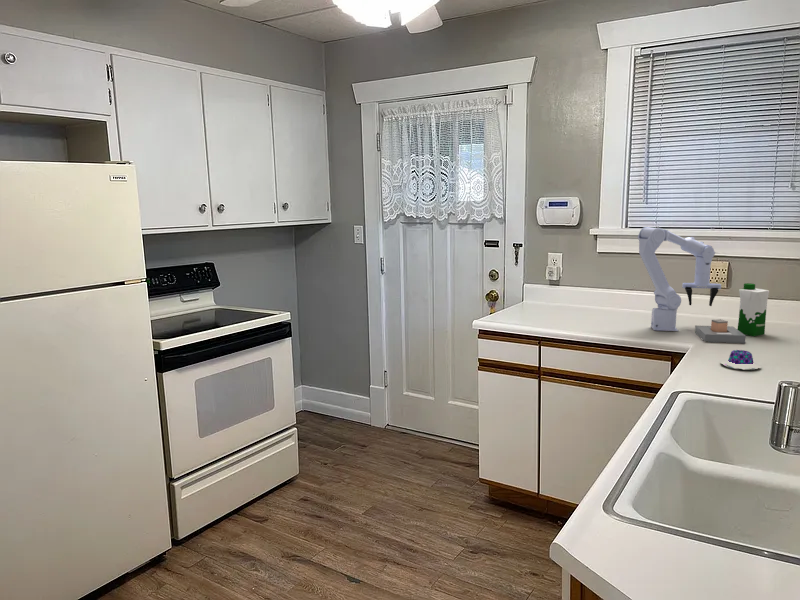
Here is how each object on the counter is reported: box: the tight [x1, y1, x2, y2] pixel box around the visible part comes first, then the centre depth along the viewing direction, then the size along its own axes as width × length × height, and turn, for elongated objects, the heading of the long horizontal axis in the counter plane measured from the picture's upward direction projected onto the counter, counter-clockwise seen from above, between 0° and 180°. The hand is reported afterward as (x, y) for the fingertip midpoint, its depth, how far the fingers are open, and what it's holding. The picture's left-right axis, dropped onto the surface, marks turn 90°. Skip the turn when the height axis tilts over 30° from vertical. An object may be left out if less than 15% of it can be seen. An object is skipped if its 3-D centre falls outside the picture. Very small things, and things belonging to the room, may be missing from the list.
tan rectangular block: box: [710, 318, 729, 332], centre depth 238 cm, size 4×4×7 cm
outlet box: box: [694, 325, 747, 344], centre depth 238 cm, size 14×16×3 cm
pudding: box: [727, 349, 755, 364], centre depth 200 cm, size 12×12×5 cm
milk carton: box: [736, 282, 770, 337], centre depth 242 cm, size 9×9×20 cm
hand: (700, 305), depth 256 cm, fingers open, 7 cm apart
